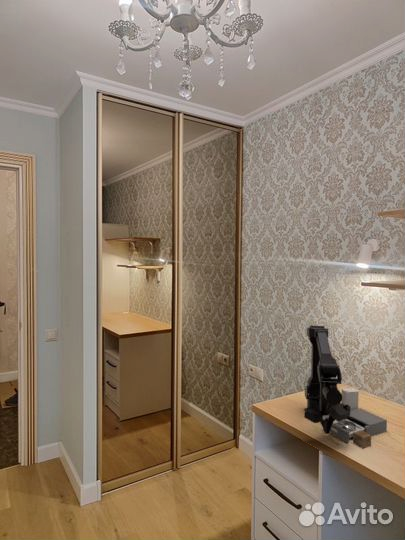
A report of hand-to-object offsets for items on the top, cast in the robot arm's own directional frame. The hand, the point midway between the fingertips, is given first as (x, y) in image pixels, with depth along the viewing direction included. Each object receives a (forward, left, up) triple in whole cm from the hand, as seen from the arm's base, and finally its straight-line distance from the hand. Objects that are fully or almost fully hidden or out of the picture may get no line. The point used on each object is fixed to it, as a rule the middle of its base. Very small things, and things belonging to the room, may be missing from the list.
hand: (326, 433), depth 145 cm
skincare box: (-10, +24, -2) cm, 26 cm away
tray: (0, +10, -2) cm, 10 cm away
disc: (0, +11, 0) cm, 11 cm away
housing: (0, +20, -2) cm, 20 cm away
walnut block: (+9, +9, -2) cm, 13 cm away
